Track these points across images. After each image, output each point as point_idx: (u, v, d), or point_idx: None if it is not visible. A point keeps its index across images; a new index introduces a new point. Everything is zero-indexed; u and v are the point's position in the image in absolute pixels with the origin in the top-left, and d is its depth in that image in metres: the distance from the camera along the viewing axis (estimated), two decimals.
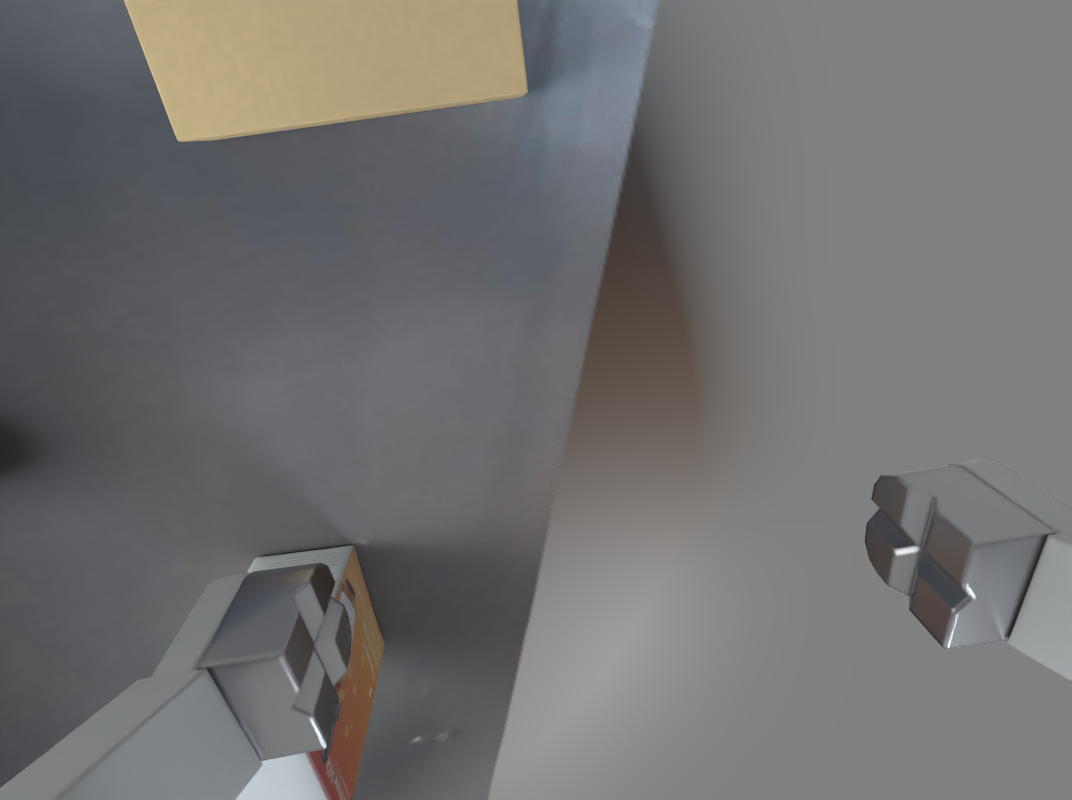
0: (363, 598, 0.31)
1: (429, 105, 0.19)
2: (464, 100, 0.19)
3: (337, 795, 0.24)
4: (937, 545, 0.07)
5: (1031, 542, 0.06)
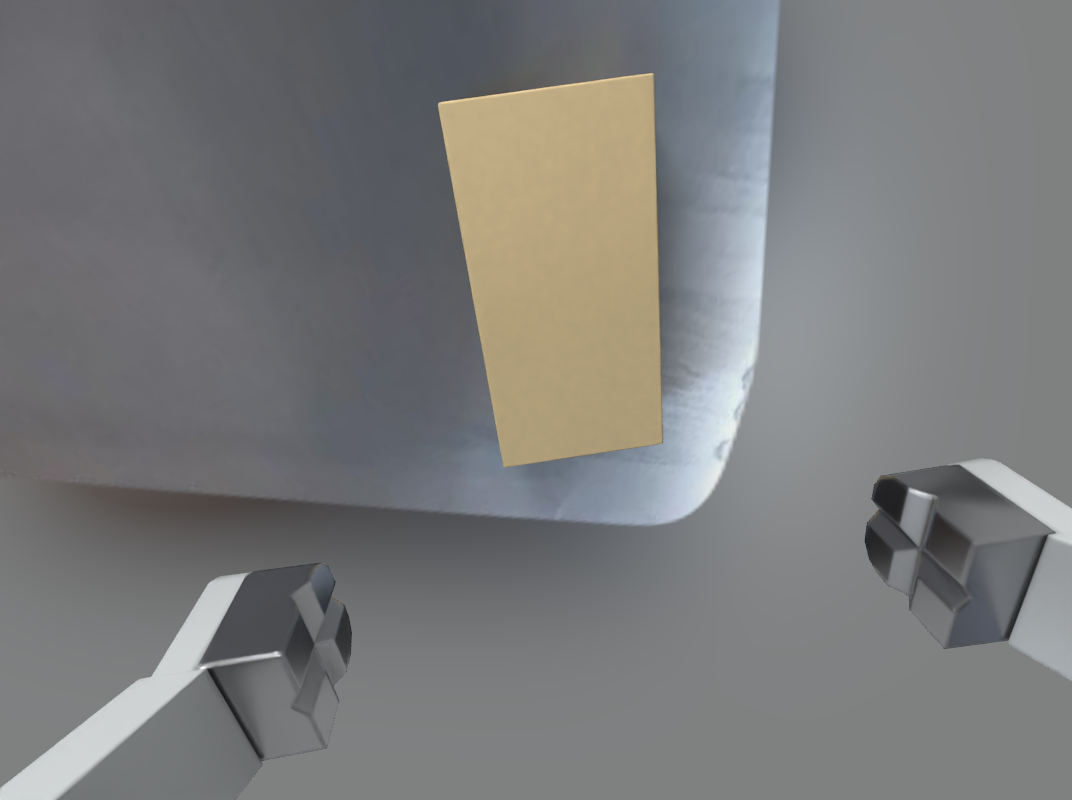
0: None
1: (489, 385, 0.19)
2: (495, 415, 0.19)
3: None
4: (936, 545, 0.07)
5: (1031, 542, 0.06)
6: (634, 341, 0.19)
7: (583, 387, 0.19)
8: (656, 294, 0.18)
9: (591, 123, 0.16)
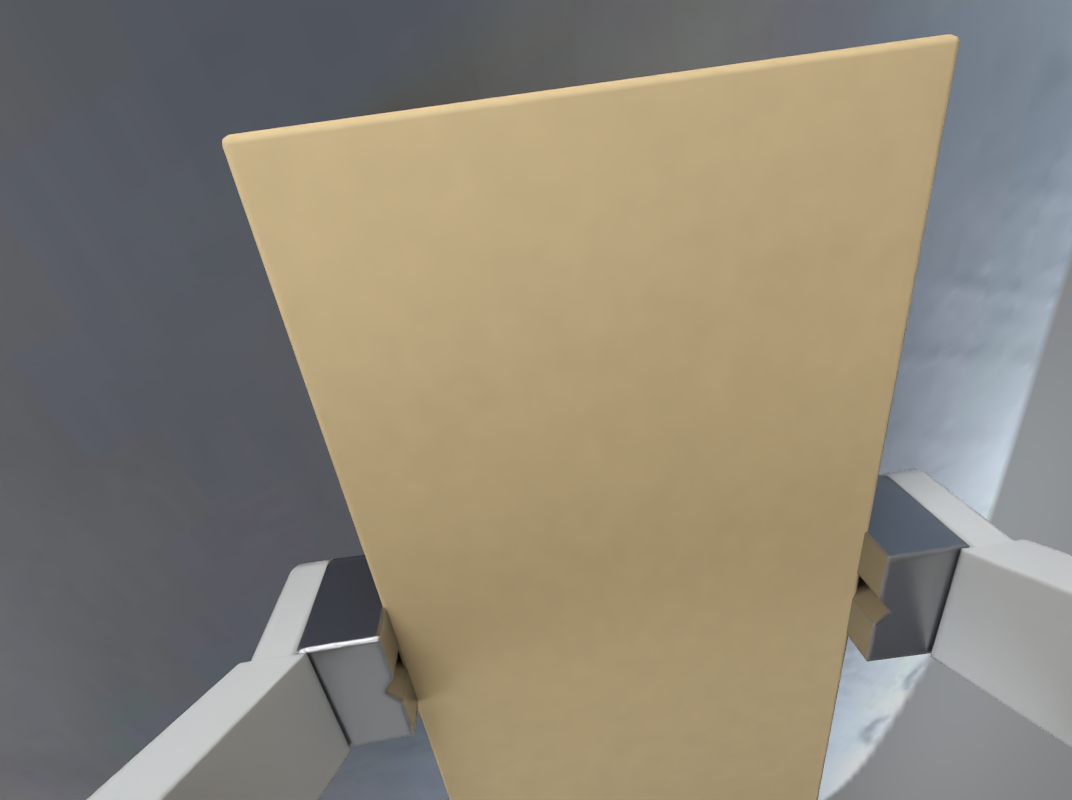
0: None
1: (441, 773, 0.08)
2: None
3: None
4: None
5: (946, 555, 0.06)
6: (781, 684, 0.08)
7: (655, 764, 0.08)
8: (849, 598, 0.07)
9: (736, 198, 0.05)
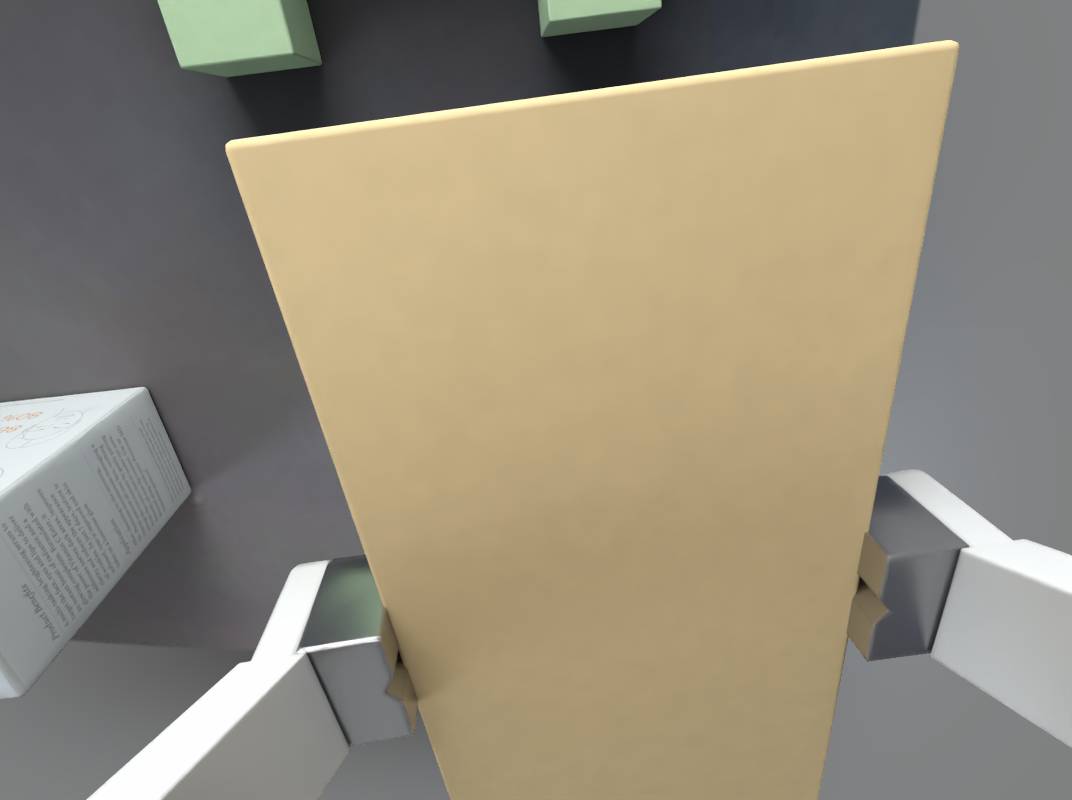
0: None
1: (442, 774, 0.08)
2: None
3: None
4: None
5: (946, 556, 0.06)
6: (781, 686, 0.08)
7: (655, 765, 0.08)
8: (849, 600, 0.07)
9: (736, 203, 0.05)
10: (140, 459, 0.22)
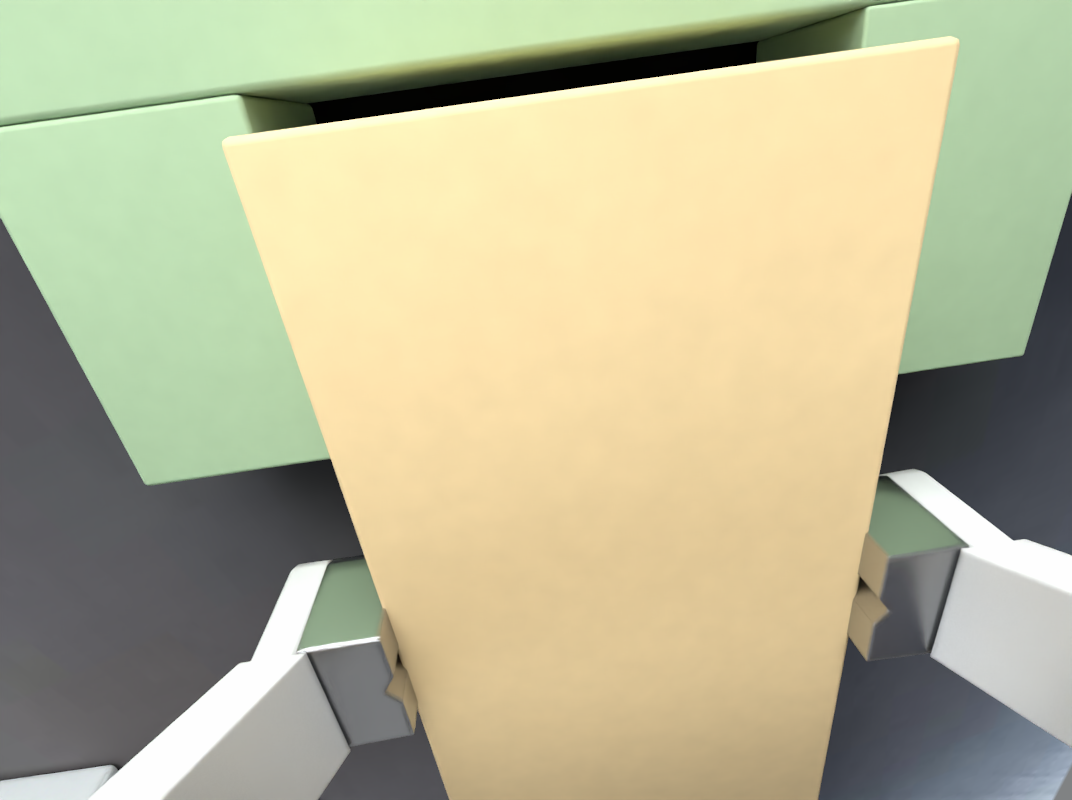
0: None
1: (441, 774, 0.08)
2: None
3: None
4: None
5: (946, 556, 0.06)
6: (781, 685, 0.08)
7: (655, 765, 0.08)
8: (849, 600, 0.07)
9: (735, 201, 0.05)
10: None
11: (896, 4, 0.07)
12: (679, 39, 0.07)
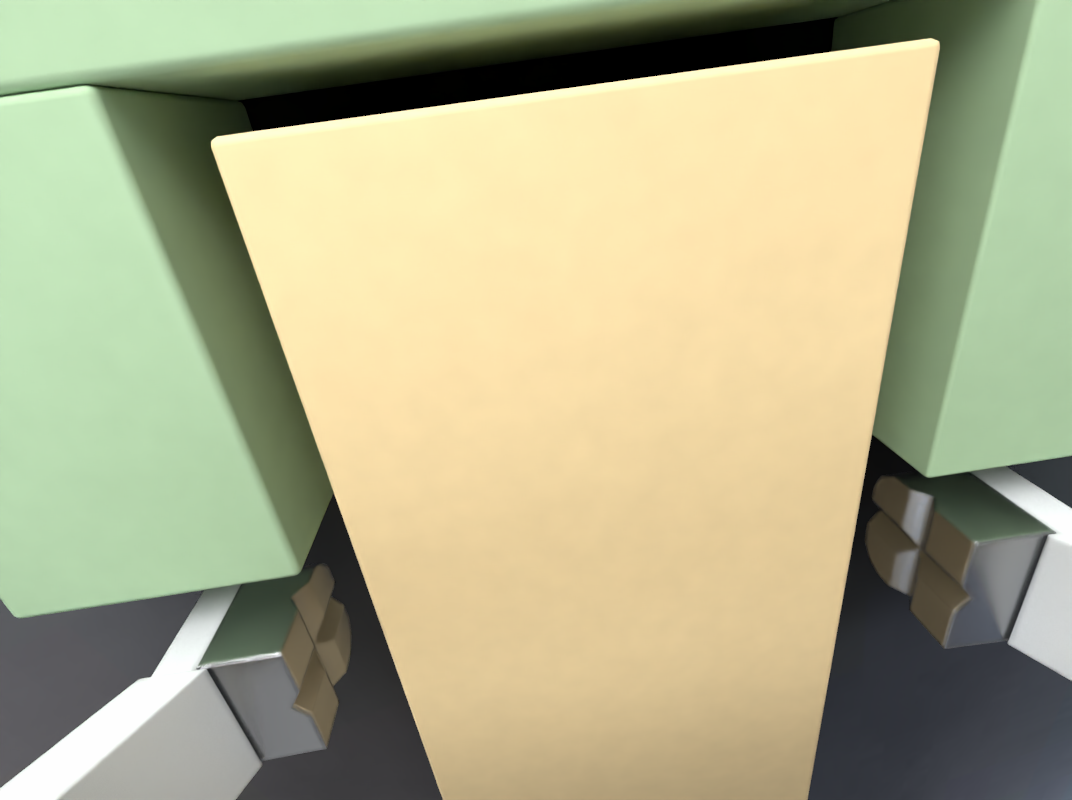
0: None
1: (433, 770, 0.08)
2: None
3: None
4: (936, 545, 0.07)
5: (1031, 542, 0.06)
6: (771, 681, 0.08)
7: (646, 761, 0.09)
8: (837, 596, 0.07)
9: (721, 201, 0.05)
10: None
11: None
12: (753, 6, 0.05)
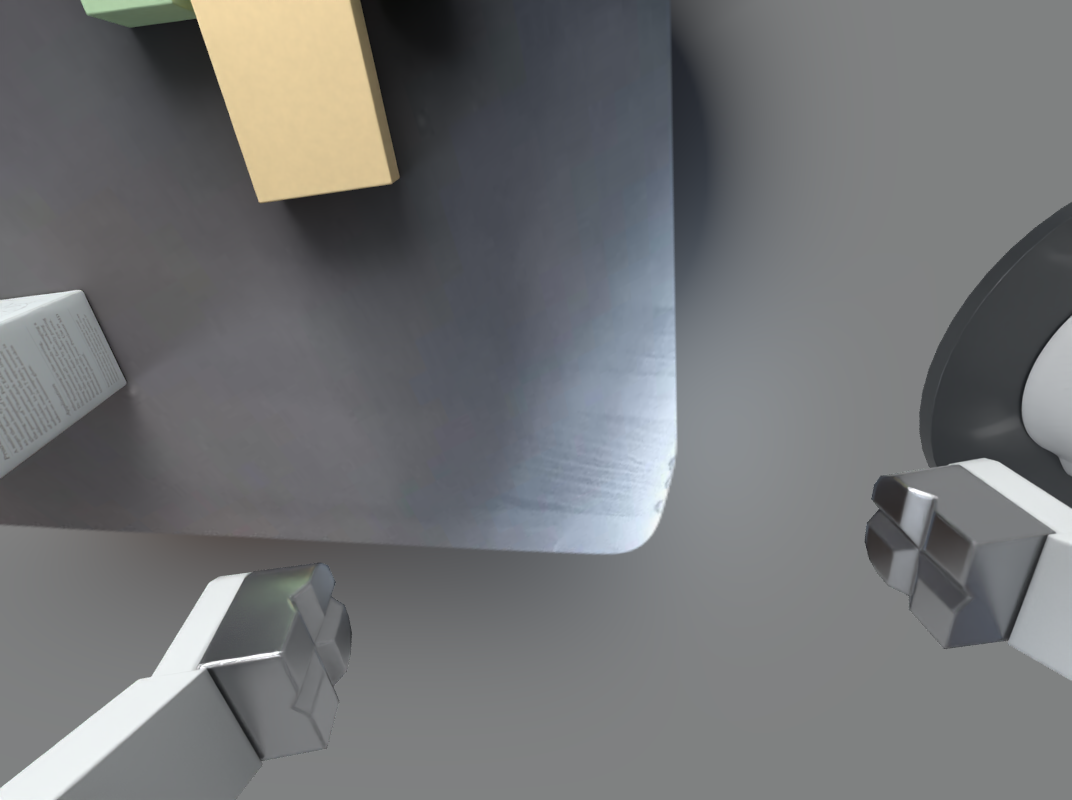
0: None
1: (231, 118, 0.23)
2: (241, 149, 0.24)
3: None
4: (937, 545, 0.07)
5: (1031, 542, 0.06)
6: (345, 79, 0.23)
7: (311, 123, 0.23)
8: (355, 33, 0.22)
9: None
10: (78, 344, 0.27)
11: None
12: None
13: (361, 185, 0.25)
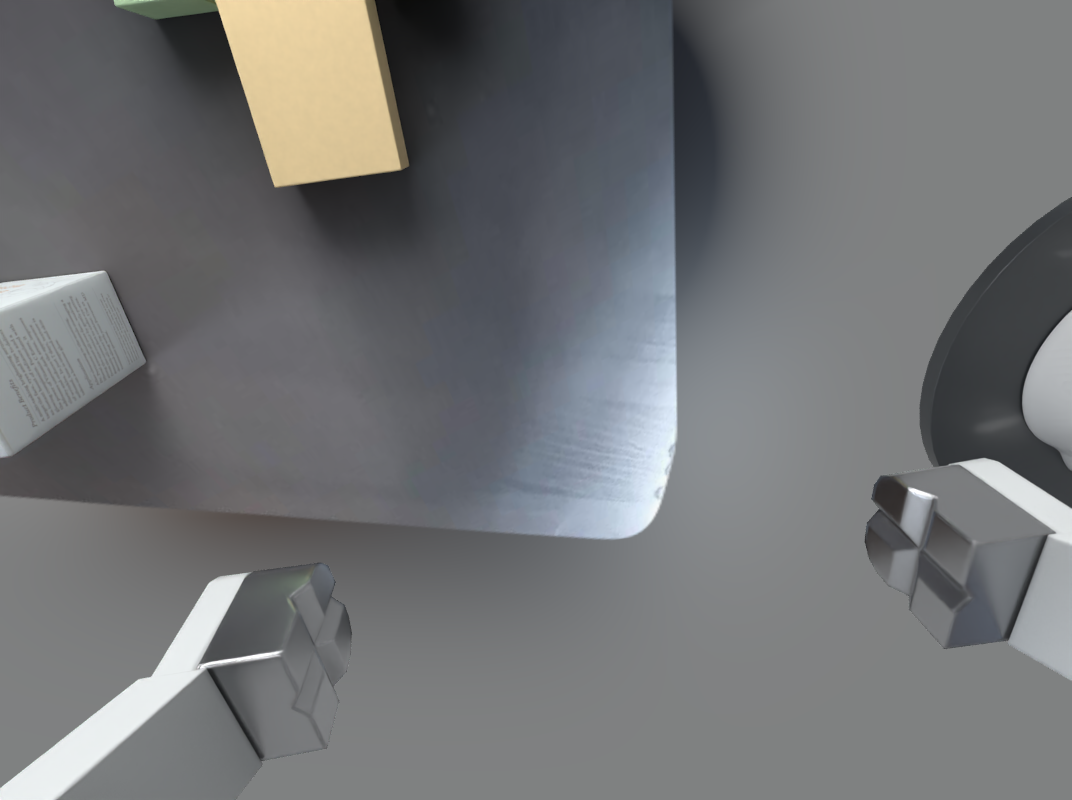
0: None
1: (249, 105, 0.24)
2: (258, 135, 0.25)
3: None
4: (937, 545, 0.07)
5: (1031, 542, 0.06)
6: (358, 68, 0.24)
7: (325, 110, 0.25)
8: (367, 24, 0.23)
9: None
10: (101, 322, 0.29)
11: None
12: None
13: (372, 171, 0.26)
